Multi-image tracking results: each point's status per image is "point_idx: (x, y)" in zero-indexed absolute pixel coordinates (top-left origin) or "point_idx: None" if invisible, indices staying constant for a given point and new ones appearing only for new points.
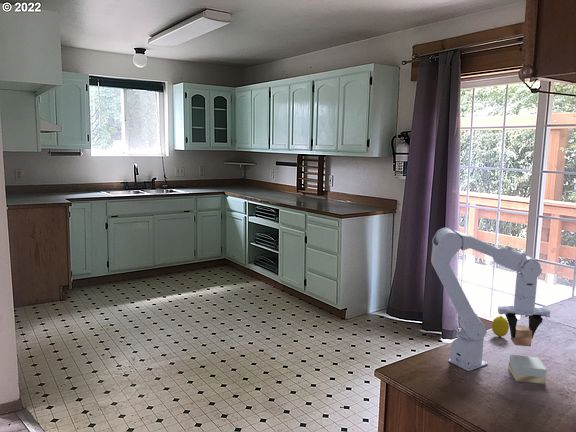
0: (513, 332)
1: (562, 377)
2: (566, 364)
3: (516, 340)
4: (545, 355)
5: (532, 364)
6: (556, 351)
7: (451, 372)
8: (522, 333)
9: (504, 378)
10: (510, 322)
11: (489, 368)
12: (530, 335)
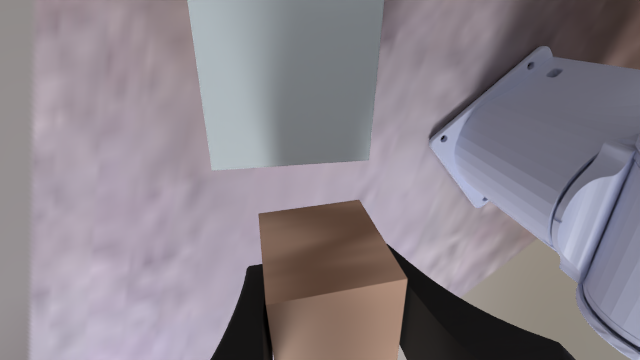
0: (408, 266)
1: (86, 96)
2: (57, 248)
3: (365, 220)
4: (151, 300)
5: (270, 48)
6: (98, 348)
7: (612, 19)
8: (345, 266)
9: (401, 7)
10: (513, 325)
11: (433, 105)
12: (274, 268)
